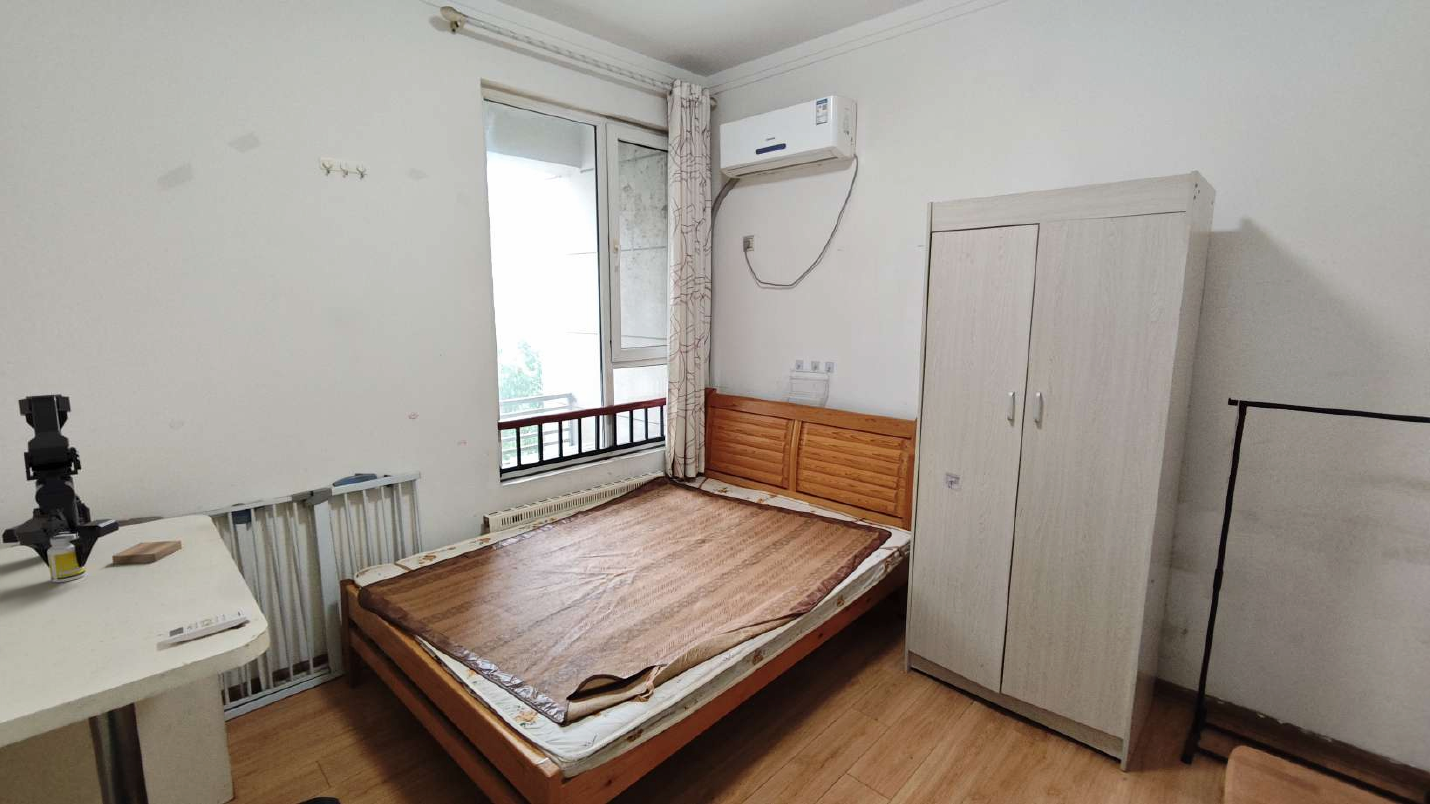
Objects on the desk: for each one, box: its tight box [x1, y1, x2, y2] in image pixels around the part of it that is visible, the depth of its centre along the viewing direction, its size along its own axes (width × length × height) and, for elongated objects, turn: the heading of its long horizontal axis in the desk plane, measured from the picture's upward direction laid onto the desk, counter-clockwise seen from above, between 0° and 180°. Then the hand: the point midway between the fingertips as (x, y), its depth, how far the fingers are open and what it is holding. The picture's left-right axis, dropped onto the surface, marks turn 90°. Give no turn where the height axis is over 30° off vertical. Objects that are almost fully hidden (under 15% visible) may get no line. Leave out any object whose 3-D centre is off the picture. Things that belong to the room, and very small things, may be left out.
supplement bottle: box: [47, 534, 86, 583], centre depth 138 cm, size 5×5×10 cm
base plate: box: [112, 540, 182, 565], centre depth 152 cm, size 9×9×2 cm
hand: (67, 567), depth 139 cm, fingers closed on supplement bottle, 5 cm apart
